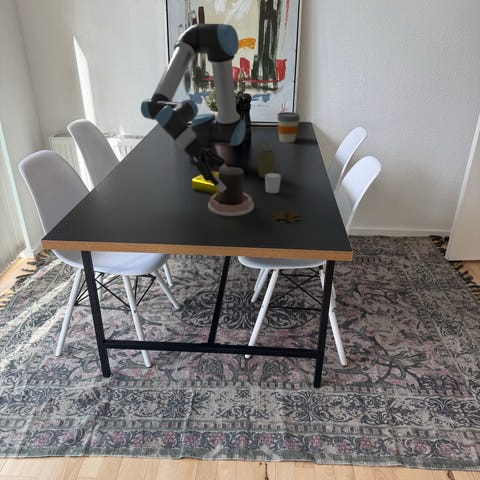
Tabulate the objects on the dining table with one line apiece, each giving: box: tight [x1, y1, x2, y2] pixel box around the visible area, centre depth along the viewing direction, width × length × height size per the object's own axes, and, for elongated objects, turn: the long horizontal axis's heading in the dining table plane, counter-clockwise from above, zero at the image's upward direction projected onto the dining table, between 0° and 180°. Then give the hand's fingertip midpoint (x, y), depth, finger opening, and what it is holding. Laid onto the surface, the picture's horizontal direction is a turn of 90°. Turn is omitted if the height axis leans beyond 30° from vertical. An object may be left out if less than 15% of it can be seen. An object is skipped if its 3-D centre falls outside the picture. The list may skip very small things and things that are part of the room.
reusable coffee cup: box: [277, 111, 300, 144], centre depth 263 cm, size 12×13×15 cm
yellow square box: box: [191, 170, 219, 195], centre depth 199 cm, size 15×15×5 cm
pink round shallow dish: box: [207, 191, 255, 217], centre depth 179 cm, size 18×18×4 cm
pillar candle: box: [218, 166, 245, 205], centre depth 176 cm, size 10×10×15 cm
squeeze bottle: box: [256, 137, 276, 179], centre depth 207 cm, size 8×8×18 cm
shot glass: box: [264, 172, 282, 194], centre depth 194 cm, size 7×7×7 cm
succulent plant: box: [270, 206, 303, 225], centre depth 170 cm, size 12×12×5 cm
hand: (228, 184), depth 175 cm, fingers open, 13 cm apart
